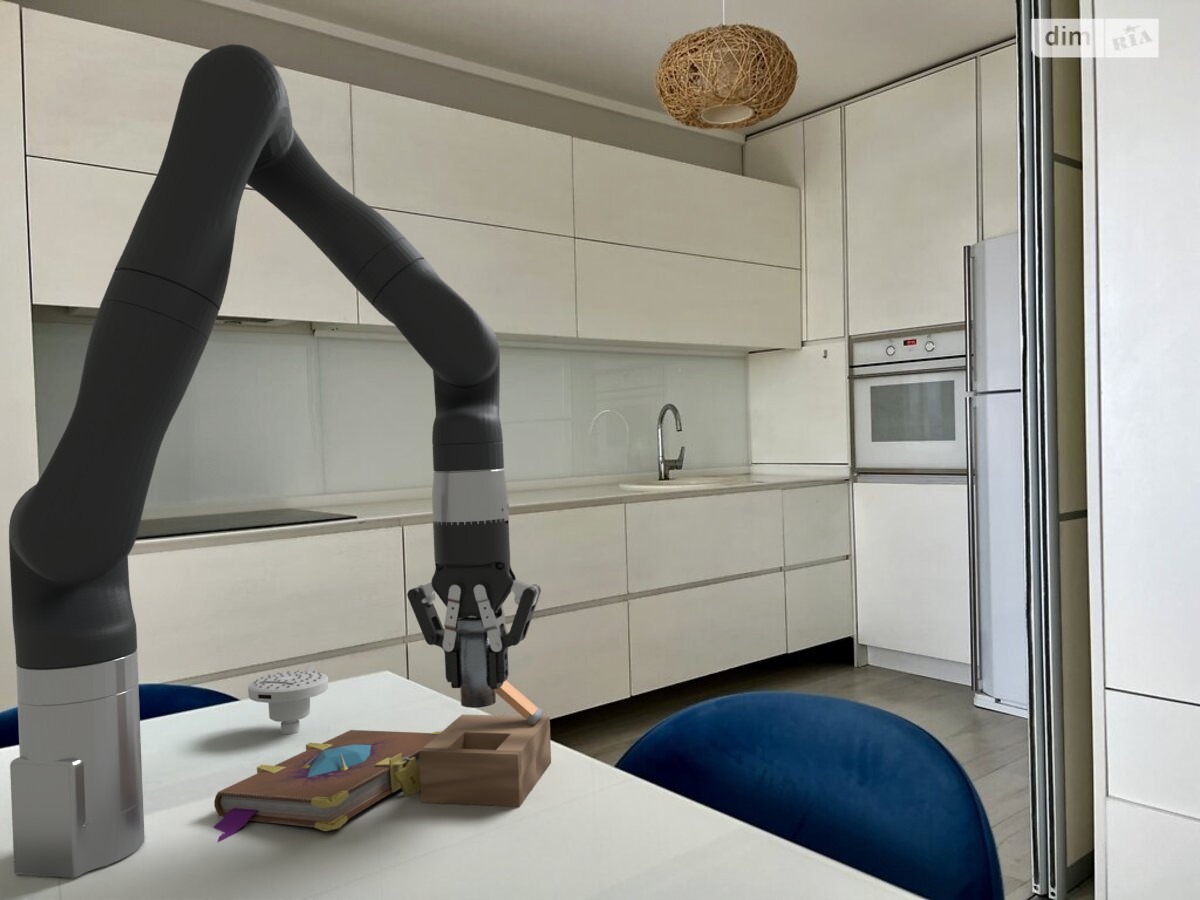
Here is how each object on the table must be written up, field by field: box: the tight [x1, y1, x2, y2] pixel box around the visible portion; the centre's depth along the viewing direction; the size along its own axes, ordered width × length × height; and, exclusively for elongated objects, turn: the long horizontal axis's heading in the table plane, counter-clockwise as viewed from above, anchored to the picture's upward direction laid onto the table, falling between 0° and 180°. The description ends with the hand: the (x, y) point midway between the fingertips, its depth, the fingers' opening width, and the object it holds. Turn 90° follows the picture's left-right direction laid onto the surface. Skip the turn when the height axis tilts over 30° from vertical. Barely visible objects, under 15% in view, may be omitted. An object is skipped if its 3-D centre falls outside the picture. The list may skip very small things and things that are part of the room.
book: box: [213, 729, 443, 843], centre depth 91 cm, size 16×25×5 cm, turn 157°
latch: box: [495, 680, 544, 725], centre depth 97 cm, size 3×9×1 cm
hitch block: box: [419, 714, 552, 807], centre depth 93 cm, size 12×10×5 cm
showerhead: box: [247, 663, 329, 735], centre depth 113 cm, size 9×7×10 cm
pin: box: [455, 615, 497, 709], centre depth 91 cm, size 4×4×9 cm
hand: (477, 685), depth 91 cm, fingers closed on pin, 3 cm apart
